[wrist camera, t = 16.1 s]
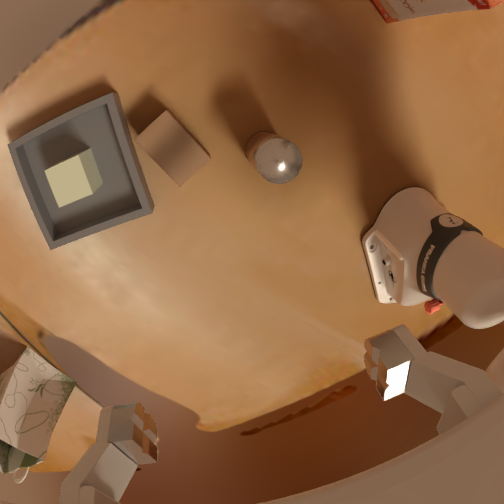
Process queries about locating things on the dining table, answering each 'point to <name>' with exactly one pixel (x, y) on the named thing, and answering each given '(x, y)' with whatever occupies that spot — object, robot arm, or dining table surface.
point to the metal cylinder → (274, 157)
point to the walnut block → (173, 147)
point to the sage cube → (74, 178)
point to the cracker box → (428, 7)
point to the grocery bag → (29, 410)
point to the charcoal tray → (107, 160)
